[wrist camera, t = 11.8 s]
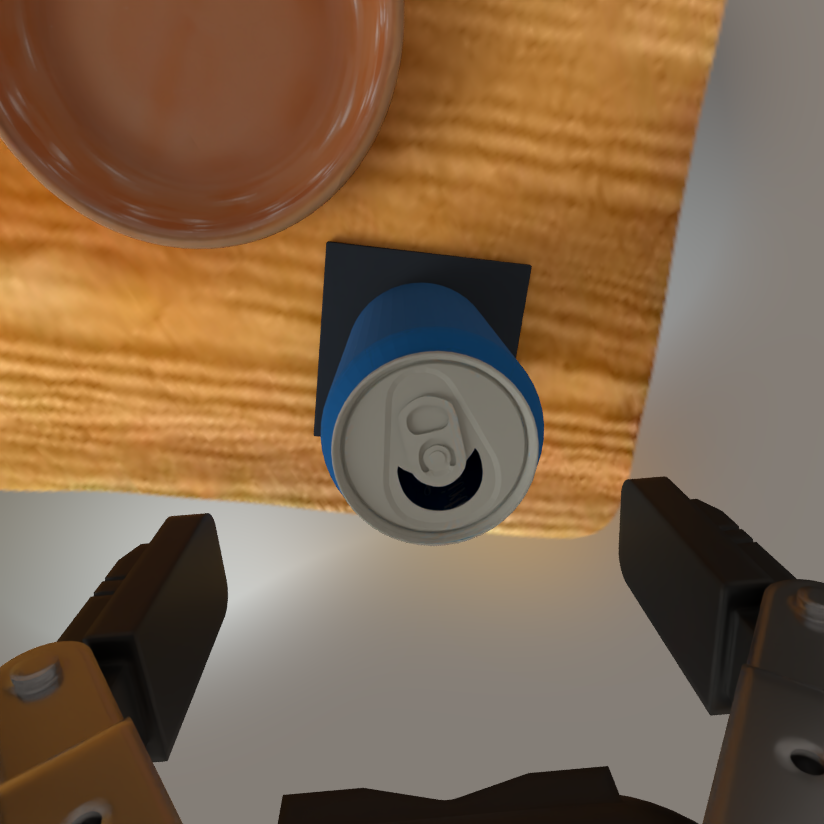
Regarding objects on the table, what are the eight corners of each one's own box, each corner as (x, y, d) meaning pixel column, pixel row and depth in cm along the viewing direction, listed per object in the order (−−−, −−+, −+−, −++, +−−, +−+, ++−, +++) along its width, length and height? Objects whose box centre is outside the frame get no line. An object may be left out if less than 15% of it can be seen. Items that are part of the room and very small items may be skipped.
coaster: (314, 433, 29) (313, 436, 29) (327, 241, 26) (326, 241, 26) (498, 451, 30) (499, 454, 29) (530, 264, 27) (532, 265, 26)
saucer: (-20, -286, 20) (-86, -364, 18) (440, -166, 22) (447, -221, 19) (-7, 204, 25) (-58, 203, 23) (366, 276, 27) (363, 285, 24)
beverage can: (369, 432, 29) (352, 580, 17) (331, 300, 27) (282, 370, 15) (502, 400, 28) (572, 530, 17) (474, 264, 26) (532, 308, 15)
